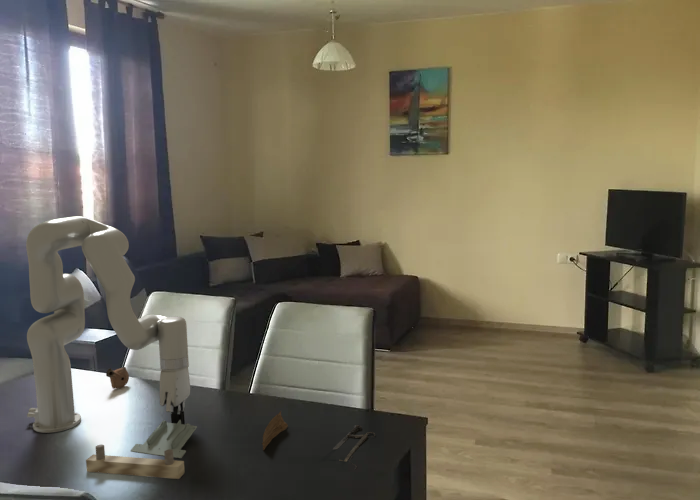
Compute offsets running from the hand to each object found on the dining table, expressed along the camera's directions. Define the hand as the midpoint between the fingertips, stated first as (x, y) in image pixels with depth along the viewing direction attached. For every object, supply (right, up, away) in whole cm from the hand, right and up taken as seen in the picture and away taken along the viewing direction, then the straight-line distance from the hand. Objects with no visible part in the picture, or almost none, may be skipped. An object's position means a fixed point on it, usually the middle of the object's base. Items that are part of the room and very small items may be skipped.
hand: (178, 425), depth 177 cm
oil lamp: (-29, +3, +34) cm, 45 cm away
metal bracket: (0, -4, -8) cm, 9 cm away
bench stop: (-4, -5, -23) cm, 23 cm away
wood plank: (+27, -2, -5) cm, 28 cm away
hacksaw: (+49, -3, -11) cm, 50 cm away
